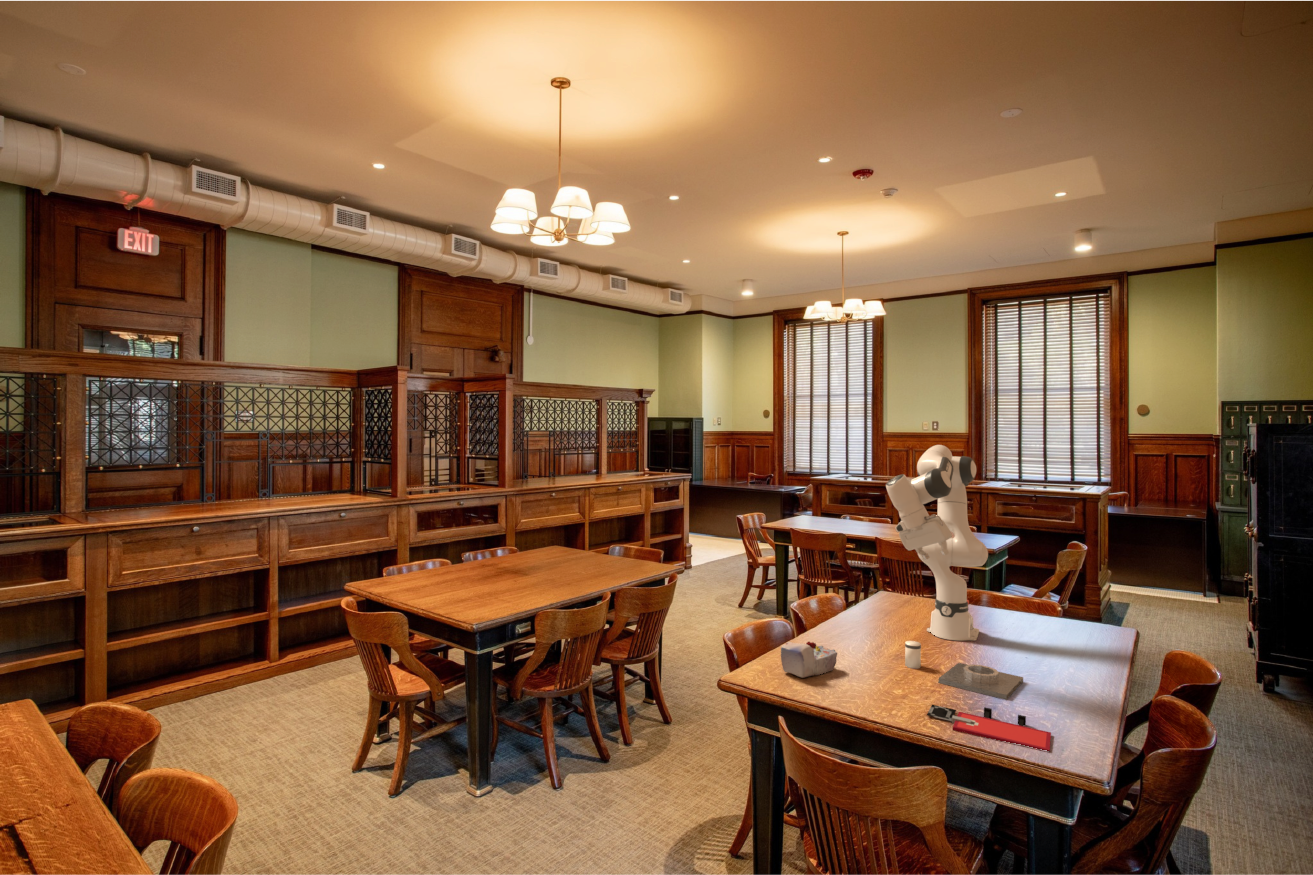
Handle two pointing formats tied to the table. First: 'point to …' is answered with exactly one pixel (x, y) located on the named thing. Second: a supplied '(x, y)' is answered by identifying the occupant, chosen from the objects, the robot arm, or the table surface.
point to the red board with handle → (994, 727)
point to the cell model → (807, 659)
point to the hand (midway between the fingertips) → (936, 556)
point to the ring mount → (981, 680)
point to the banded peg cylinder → (913, 654)
